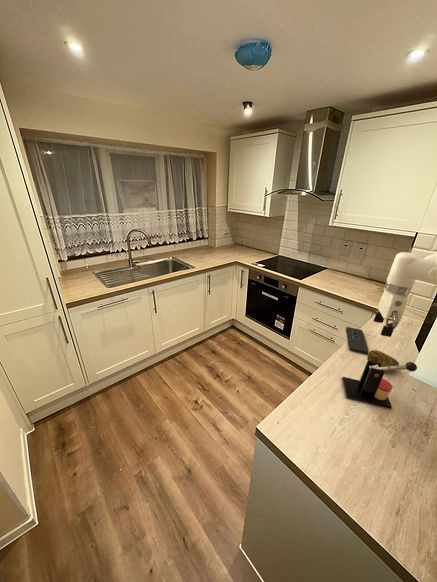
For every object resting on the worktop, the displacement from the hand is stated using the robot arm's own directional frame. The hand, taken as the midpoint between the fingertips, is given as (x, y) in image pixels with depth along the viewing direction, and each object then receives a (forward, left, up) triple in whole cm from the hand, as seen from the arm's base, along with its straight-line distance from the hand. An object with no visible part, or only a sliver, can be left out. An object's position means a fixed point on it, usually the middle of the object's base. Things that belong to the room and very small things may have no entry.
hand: (381, 328), depth 89 cm
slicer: (+2, +10, -24) cm, 26 cm away
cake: (-3, +10, -23) cm, 25 cm away
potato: (-8, -8, -24) cm, 27 cm away
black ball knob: (-4, +10, -11) cm, 16 cm away
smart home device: (-2, -26, -24) cm, 35 cm away
